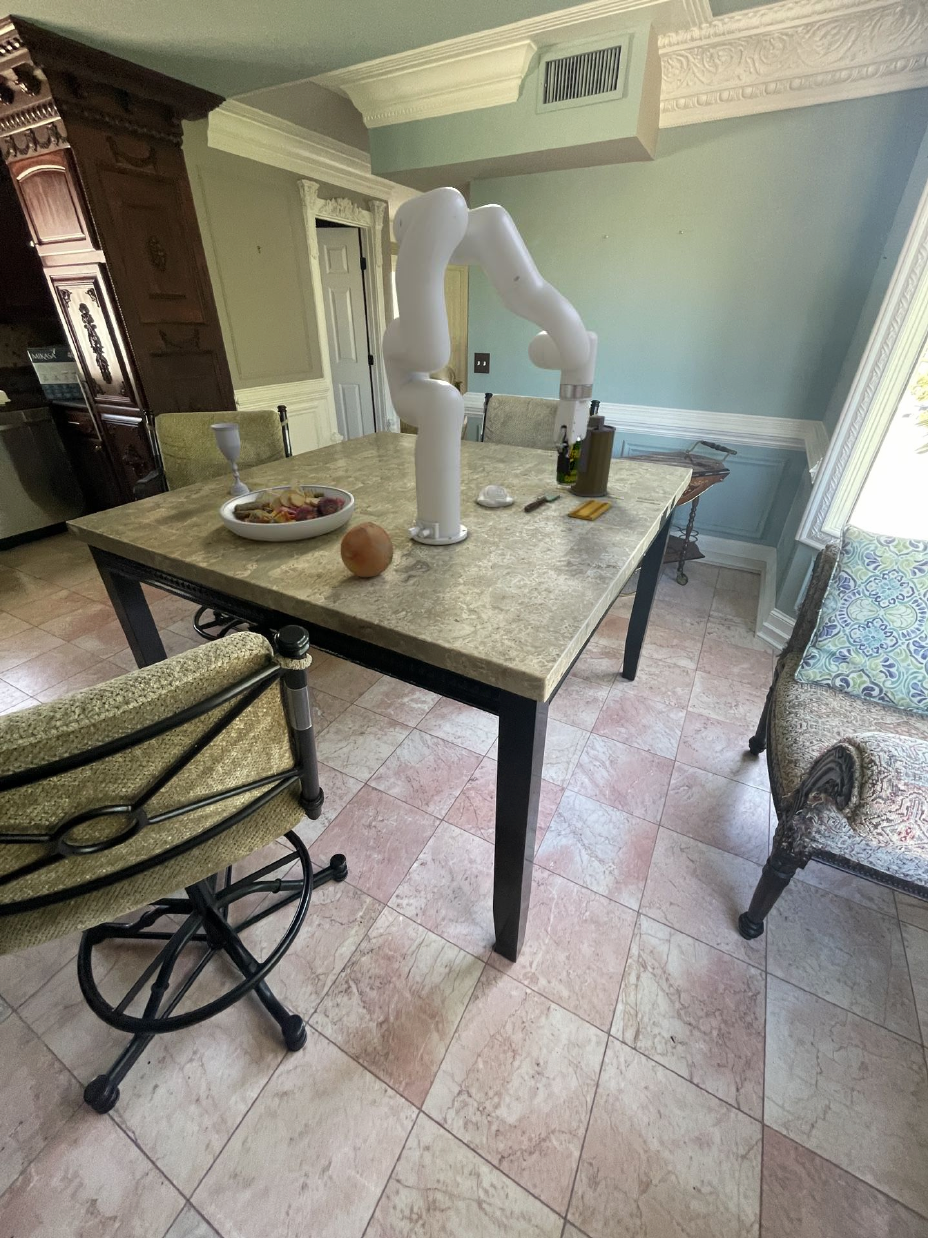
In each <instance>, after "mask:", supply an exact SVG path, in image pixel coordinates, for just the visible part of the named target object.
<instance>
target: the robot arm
mask: <svg viewBox="0 0 928 1238" xmlns="http://www.w3.org/2000/svg"><path fill="white" fill-rule="evenodd" d="M392 233H393V235H394V239H395V242H396V245H398V247H399V249H398V252H397V256H396V261H395V269H394V270H395V271H394V283H395V293H396V294H395V295H396V301H397V302H396V303H397V310H398V317H395V318H394V319H392V320H391V321H389V323H388V324H387V326H386V327H385V329H384V331H383V336H382V344H381V349H382V359H383V364H384V369H385V375H386V379H387V384H388V385H387V386H388V389H389V394H390V395H389V396H390V399H391V404H392V407H393V410H394V412H395V414H396V416H397V417H398V418H399V420H400V421H402V422H403V423H405V424H407V425H409V426H411V427H414V428H418V429H417V436H416V439H415V444H414V452H413V453H414V455H413V456H414V474H415V476H414V477H415V492H416V493H415V496H416V497H415V498H416V516H417V517H416V518H415V519H414V520H415V524H414V525H413V526H412V527H409V528H407V529H405V532H404V535H405V537H406V538H407V539H413V540H414V541H416V542H419V543H421V544H426V545H433V546H435V545H436V546H439V545H441V546H443V545H451V544H456V543H459V542H461V541H463V540H465V539H466V538H467V536H468V528H467V527H466V526H465V525H464V524H461V444H462V443H461V442H462V433H463V432H462V431H463V426H464V421H465V414H466V411H465V410H466V408H465V401H464V399H463V395H462V394H461V392H460V391H459V389H458V388H457V387H455V385H453V384H451V383H449V382H447V381H445V380H441V379H434V378H430V377H431V376H430V374H434V373H438V372H440V371H442V370H443V369H445V368H446V366H447V365H448V363H450V362H449V361H450V358H451V353H452V352H451V351H452V349H451V347H452V346H451V340H450V339H451V338H450V337H451V336H450V331H449V322H448V314H447V306H446V295H445V274H446V269H447V266H448V265H449V266H457V267H472V266H478V265H479V266H480V267H481V269H482V271H483V272H484V274H485V275H486V277H487V279H488V281H489V282H490V284H491V285H492V288H493V289H494V290H495V292H496V294H497V296H498V298H499V300H500V301H501V303H502V305H503V306H504V307H505V308H506V309H507V310H508V311H510V312H511V313H512V314H514V315H516V316H517V317H520V318H522V319H523V320H527V321H528V322H531V323H532V324H534V325H536V326H538V328H540V329H541V330H543V331H541V332H538V333H537V334H535V335H534V336H533V337H532V338H531V340H530V342H529V345H528V350H527V351H528V352H527V353H528V357H529V359H530V362H531V363H532V364H533V365H534V366H535V367H537V368H539V369H543V370H552V371H560V379H559V393H558V403H557V408H556V414H555V418H554V419H555V420H554V428H553V436H552V442H553V443H554V444H555V448H556V451H557V454H556V457H557V459H556V471H555V472H556V474H557V473H562V474H569V470H570V460H571V457H569V455H570V451H571V446H572V444H574V443H576V440H577V438H578V436H580V435H582V436H581V437H582V442H583V439H584V438H585V436H586V431H587V422H588V421H589V406H590V401H592V396H593V387H594V379H595V369H596V362H597V361H596V360H597V351H598V344H599V337H598V334H597V333H596V332H594V331H588V330H587V329H586V327H585V325H584V323H583V321H582V318H581V317H580V315H579V312H578V311H577V310H576V308H575V307H574V306H573V304H572V303H571V302H570V301H569V300H568V299H567V298H566V297H565V296H563V294H561V293H560V292H559V291H558V290H557V289H556V288H555V287H554V286H553V285H552V284H551V283H549V282H548V281H547V280H546V279H544V278H543V276H542V275H541V273H540V272H539V270H538V268H537V266H536V264H535V262H534V260H533V258H532V256H531V254H530V252H529V250H528V248H527V246H526V244H525V242H524V240H523V238H522V236H521V234H520V232H519V230H518V228H517V226H516V223H515V222H514V220H513V218H512V216H511V215H510V214H509V212H508V210H506V208H504V207H503V206H501V205H499V204H487V205H483V206H479V207H475V208H472V209H469V207H468V205H467V201H466V199H465V197H464V195H462V193H461V192H460V191H459V190H457V189H456V188H453V187H448V186H447V187H446V186H445V187H438V188H434V189H432V190H428V191H426V192H424V193H421V194H420V195H417V196H415V197H412V198H410V199H408V200H406V201H404V202H403V203H402V204H400V206H399V207H398V208H397V210H396V212H395V214H394V217H393V221H392ZM588 423H589V422H588ZM564 441H568V443H564ZM564 446H567V451H566V448H565V447H564Z"/></svg>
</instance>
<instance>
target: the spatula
mask: <svg viewBox="0 0 928 1238" xmlns="http://www.w3.org/2000/svg"><path fill="white" fill-rule="evenodd" d="M560 497H561V494H557V493H554V492H547V491H546V492H545V493H543V494H542V495H539V496H538V497H537V498H536V500H533V501H532V502H530V503H529V504H527V505H524V507H523V510H524V511H525V512H529V511H531V510H532V509H535V508H536V507H538V506H539V505H541V504H543V503H545V502H546V503H552V502H554V501H556V500H557V499H559V498H560Z"/></svg>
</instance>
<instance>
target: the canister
mask: <svg viewBox="0 0 928 1238" xmlns="http://www.w3.org/2000/svg"><path fill="white" fill-rule="evenodd" d="M605 420H606V416H604V415H594V416H593V415H592V416H589V418H588V422H587V431H586V436H585V438H584V439H583V442H582V445H581V454H580V463H579V472H578V481H577V483H576V485H574V486H570V488H569V492H570V493H571V494H574V495H575V496H580V497H587V498H597V497H598V498H599V497H603V496H605V495H607V494H608V490H607V489H608V483H609V476H610V470H611V462H612V456H613V448H614V440H615V434H616V431H617V427H615V426H613V425H610V424H605Z"/></svg>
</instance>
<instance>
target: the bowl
mask: <svg viewBox="0 0 928 1238" xmlns="http://www.w3.org/2000/svg"><path fill="white" fill-rule="evenodd" d="M355 503H356V502H355V497H354V495H353V494H352V493H350V492H348V491H346V490H344V489H341V488H338V487H333V486H327V485H313V484H312V485H311V484H310V485H309V484H308V485H307V484H305V485H304V484H302V485H301V484H293V485H286V486H285V485H284V486H275V487H269V488H263V489H258V490H253V491H250V492H249V493H246V494H242V495H237V496H236V497H232V498H231V499H228V500H227V501H226V502H224V503H223V504H222V505H221V506H220V508H219V516H220V518H221V521H222V523H223V525H224V526H225V527H226V528H227V529H228V530H229V531H231V532H232V533H234V534H235V535H237V536H240V537H242V538H245V539H249V540H253V541H261V542H288V541H290V542H292V541H299V540H305V539H310V538H315V537H319V536H322V535H325V534H329V533H331V532H333V531H335V530H338V529H339V528H341V527H342V526H343V525H345V524H346V523H347V522H348V521H349V520H350V519H351V517H352V516H353V514H354V511H355Z"/></svg>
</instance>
